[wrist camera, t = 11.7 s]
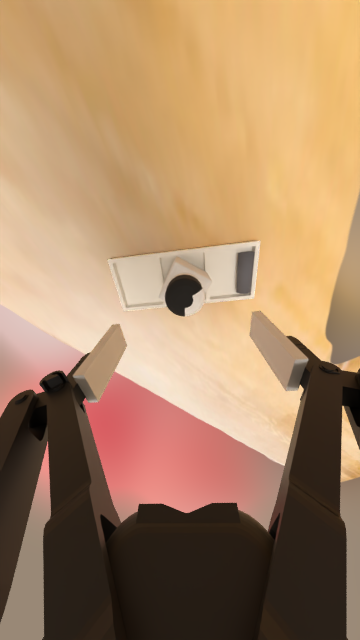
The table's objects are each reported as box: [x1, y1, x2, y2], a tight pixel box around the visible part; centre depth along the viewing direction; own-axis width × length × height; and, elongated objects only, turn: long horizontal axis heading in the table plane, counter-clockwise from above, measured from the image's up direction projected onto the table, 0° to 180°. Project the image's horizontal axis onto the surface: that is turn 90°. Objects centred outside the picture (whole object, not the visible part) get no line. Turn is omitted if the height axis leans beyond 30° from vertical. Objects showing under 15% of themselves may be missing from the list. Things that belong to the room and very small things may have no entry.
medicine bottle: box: [159, 257, 212, 316], centre depth 29 cm, size 7×7×12 cm
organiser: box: [107, 241, 260, 311], centre depth 35 cm, size 12×30×2 cm, turn 97°
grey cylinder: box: [236, 251, 255, 294], centre depth 33 cm, size 8×3×3 cm
